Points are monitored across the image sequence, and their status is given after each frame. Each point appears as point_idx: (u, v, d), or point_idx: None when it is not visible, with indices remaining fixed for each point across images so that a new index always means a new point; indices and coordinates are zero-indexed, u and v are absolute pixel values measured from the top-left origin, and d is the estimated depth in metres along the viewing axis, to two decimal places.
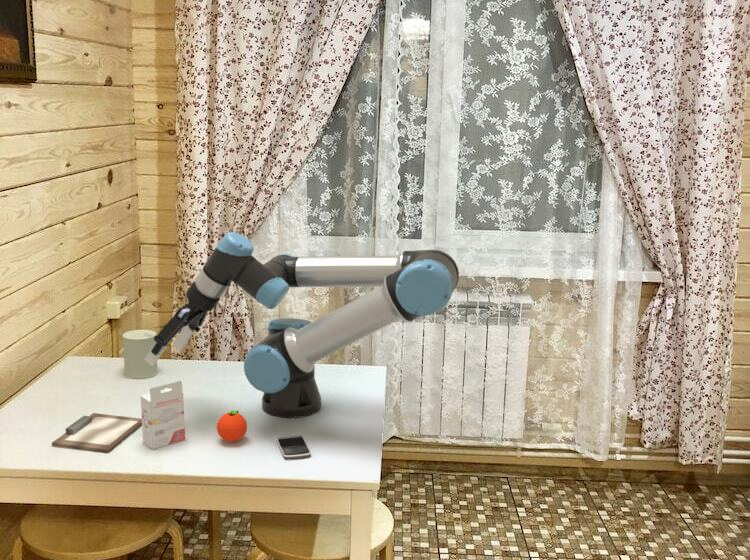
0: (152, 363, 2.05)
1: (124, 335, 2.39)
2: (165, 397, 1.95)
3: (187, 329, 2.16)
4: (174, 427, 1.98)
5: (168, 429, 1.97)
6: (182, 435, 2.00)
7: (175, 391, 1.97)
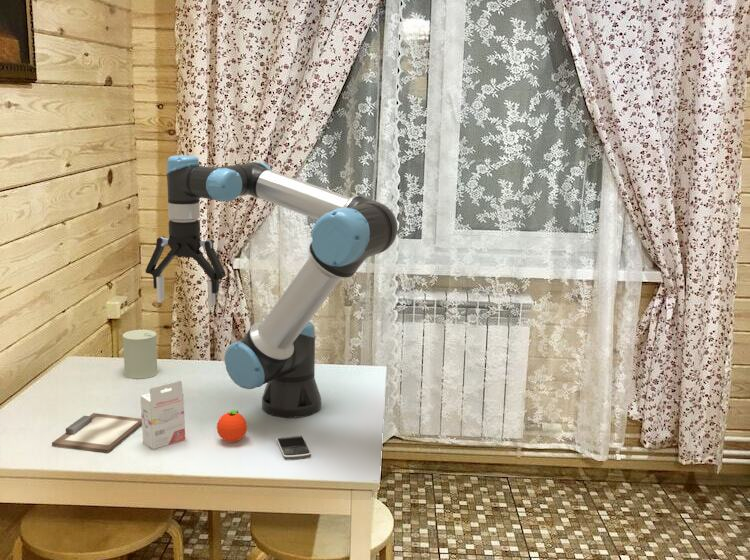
0: None
1: (124, 335, 2.39)
2: (165, 397, 1.95)
3: None
4: (174, 427, 1.98)
5: (168, 429, 1.97)
6: (182, 435, 2.00)
7: (175, 391, 1.97)
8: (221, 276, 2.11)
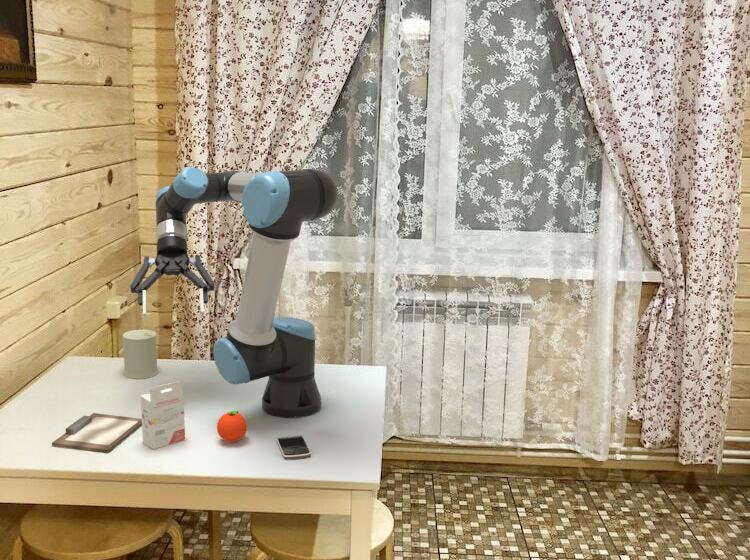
0: None
1: (124, 335, 2.39)
2: (165, 397, 1.95)
3: None
4: (174, 427, 1.98)
5: (168, 429, 1.97)
6: (182, 435, 2.00)
7: (175, 391, 1.97)
8: (213, 283, 2.15)
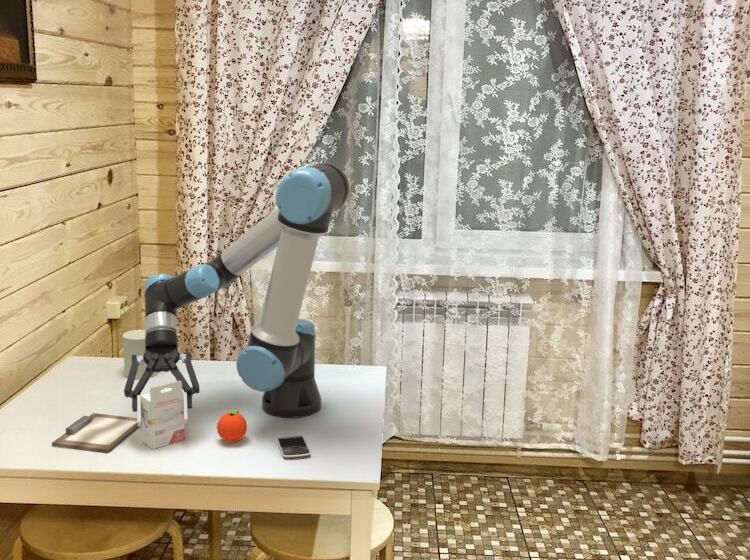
0: (137, 420, 1.94)
1: (124, 335, 2.39)
2: (165, 397, 1.95)
3: None
4: (174, 427, 1.98)
5: (168, 429, 1.97)
6: (182, 435, 2.00)
7: (175, 391, 1.97)
8: (198, 386, 2.00)
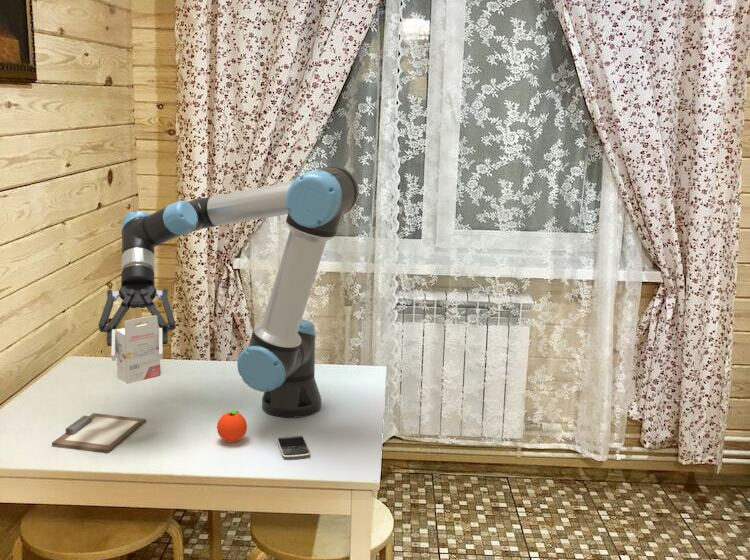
0: None
1: None
2: (140, 331, 1.93)
3: None
4: (149, 362, 1.96)
5: (143, 364, 1.95)
6: (157, 371, 1.98)
7: (150, 325, 1.95)
8: (174, 322, 1.98)
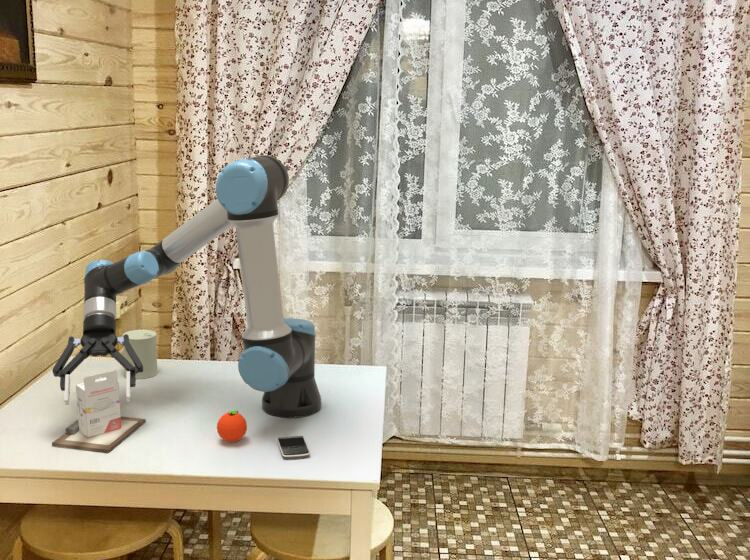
0: None
1: None
2: (100, 386, 1.98)
3: None
4: (109, 416, 2.01)
5: (103, 418, 2.00)
6: (118, 424, 2.03)
7: (110, 380, 2.00)
8: (141, 365, 2.04)
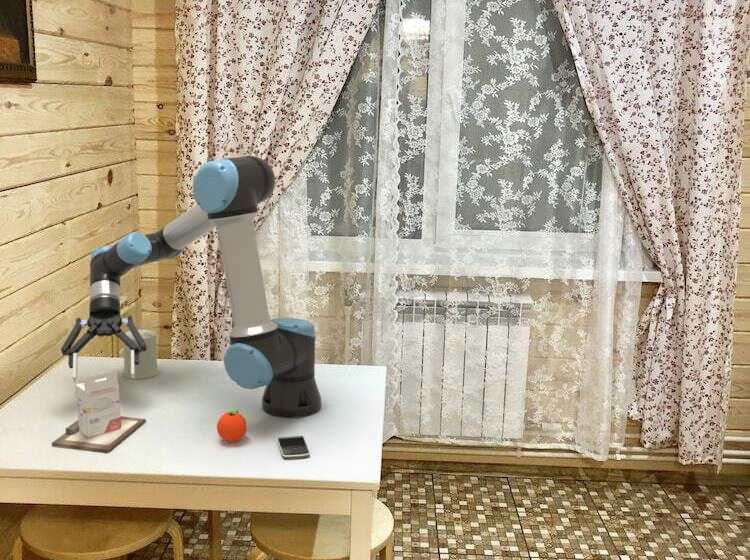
0: None
1: None
2: (100, 386, 1.98)
3: None
4: (109, 416, 2.01)
5: (103, 418, 2.00)
6: (118, 424, 2.03)
7: (110, 380, 2.00)
8: (145, 344, 2.17)
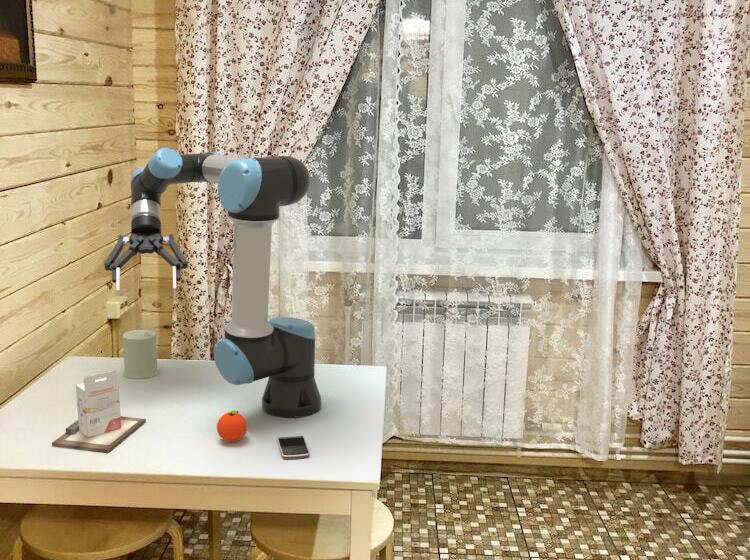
0: (116, 288, 2.12)
1: (124, 335, 2.39)
2: (100, 386, 1.98)
3: None
4: (109, 416, 2.01)
5: (103, 418, 2.00)
6: (118, 424, 2.03)
7: (110, 380, 2.00)
8: (186, 261, 2.20)
